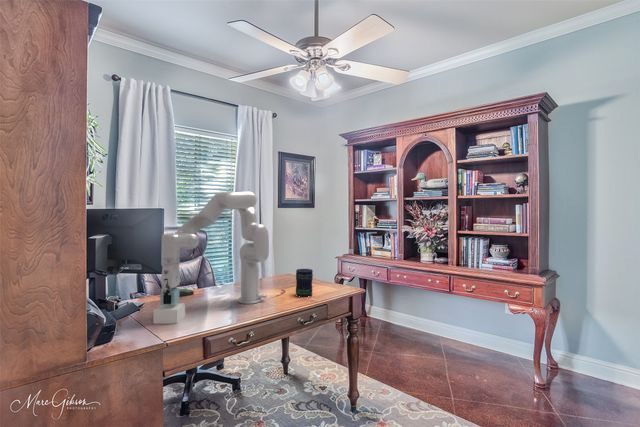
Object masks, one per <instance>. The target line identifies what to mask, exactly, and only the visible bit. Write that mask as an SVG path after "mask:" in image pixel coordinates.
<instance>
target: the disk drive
mask: <svg viewBox="0 0 640 427" xmlns="http://www.w3.org/2000/svg"><path fill="white" fill-rule="evenodd" d="M194 292H195V291H194V290H192V289H188V288H179V298H183V297H188V296H189V297H190V296H194V295H195V294H194Z"/></svg>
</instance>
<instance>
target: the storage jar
mask: <svg viewBox="0 0 640 427" xmlns="http://www.w3.org/2000/svg"><path fill="white" fill-rule="evenodd" d="M295 272H296V274H295V279H296V286H295V296H296V295H297V296H300V297H299V298H301V297H308V296H311V297H313V278H314V277H313V276H314V275H313V269H311V268H297V269H296V270H295ZM297 296H296V297H297ZM308 298H309V297H308Z"/></svg>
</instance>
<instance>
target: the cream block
mask: <svg viewBox="0 0 640 427" xmlns="http://www.w3.org/2000/svg"><path fill="white" fill-rule="evenodd" d="M185 316H186V303H184V302H183V303H182V302H180V303H179V302H178V303H177V304H175V305H158V306H157V307H156V308H154V309H153V316H152V317H153V320H152V321H153V324H155V325H159V324H161V325H162V324H163V325H164V324H167V325H168V324H172V325H173V324H174V325H175V324H179V322H181V321H182V320H183V319H184V318H185Z"/></svg>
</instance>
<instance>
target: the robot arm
mask: <svg viewBox="0 0 640 427" xmlns="http://www.w3.org/2000/svg"><path fill="white" fill-rule="evenodd" d="M257 200H258V199H257V196H256V194H255V193H254V192H252V191H233V192H232V191H227V192H226V191H222V192H217V193H216V194H213V196H212V197H211V199H209V201H208V202H207V203H206V204H205V205H204V207H202V209H201V210H200V211H199V212H198V213H197V214H195V215H193V216H192V217H191V218H190V219H188V220H187V221H186V222H184V223H183V224H182V225H181V226H180V228H179V229H178V230H177V231H176V232H175V233H164V234H162V235H161V260H160V261H161V263H160V264H161V266H162V270H161V291H162V290H163V304H171V295H170V294H171V288H177V287H178V286H179V285H180V283H181V277H180V276H181V275H180V273H181V272H180V270H181V269H180V264H181V260H180V256H181V254H180V253H181V251H180V250H193V249H195V248H197V247H198V246H199V244H200V239H199V236H198V235H196V233H197V232H199V231H200V230H203V229H204V228H208V227H209V226H211V225H213V224H215V222H216V221H217V220H218V219H219V217H220V216H221V215H222V214H223V213H224V211H225V210H237V211H238V212H239V215H240V225H241V226H240V228H241V229H240V230H241V237H242V239H243V240H245V241H249V242H246V243H244V244H242V245H241V247H240V248H239V259H240V297H238V298H237V302H238V303H240V304H245V305H251V304H252V305H253V304H258V303H261V302H262V299H267V294H266V293H260V290H259V288H260V287H259V286H260V285H259V284H260V283H259V282H260V280H259V279H260V278H259V277H260V274H259V273H260V267H259V263H264V262H266V261H267V260H268V258H269V255H270V240H269V239H270V236H269V230H268V229H267V226H266V225H264V224H262V223H258V218H257V216H258V215H257V212H256V209H255V206H256V204H257V202H258V201H257ZM167 289H169V291H168V290H167Z"/></svg>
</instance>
